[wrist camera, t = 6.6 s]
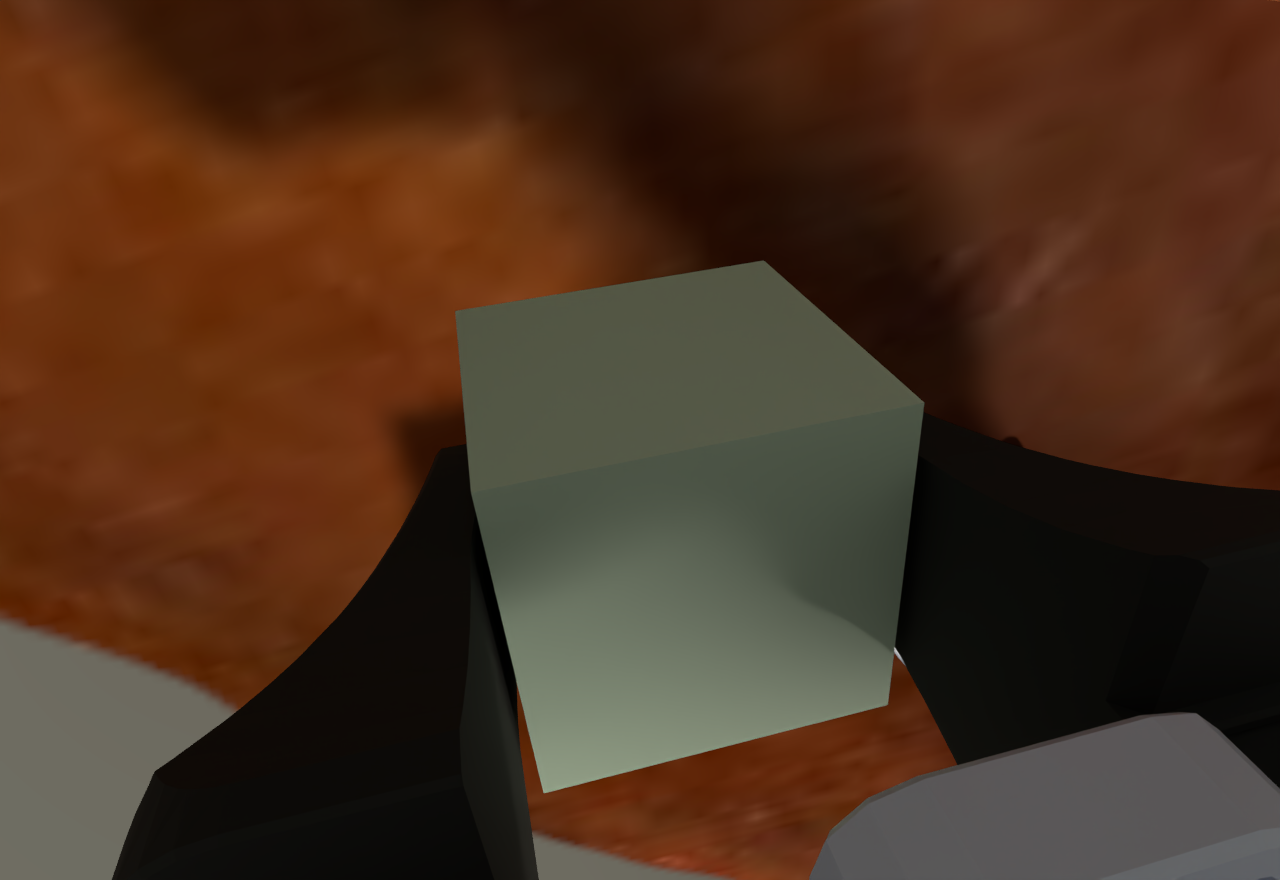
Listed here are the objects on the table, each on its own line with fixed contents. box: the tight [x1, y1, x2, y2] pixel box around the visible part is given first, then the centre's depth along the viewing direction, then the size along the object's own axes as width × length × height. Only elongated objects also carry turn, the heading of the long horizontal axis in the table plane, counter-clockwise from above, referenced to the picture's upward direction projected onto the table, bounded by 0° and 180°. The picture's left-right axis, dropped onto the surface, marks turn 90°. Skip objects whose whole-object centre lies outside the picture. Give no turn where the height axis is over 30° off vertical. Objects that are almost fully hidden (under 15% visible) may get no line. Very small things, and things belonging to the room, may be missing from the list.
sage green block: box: [455, 261, 924, 793], centre depth 12 cm, size 5×5×5 cm
